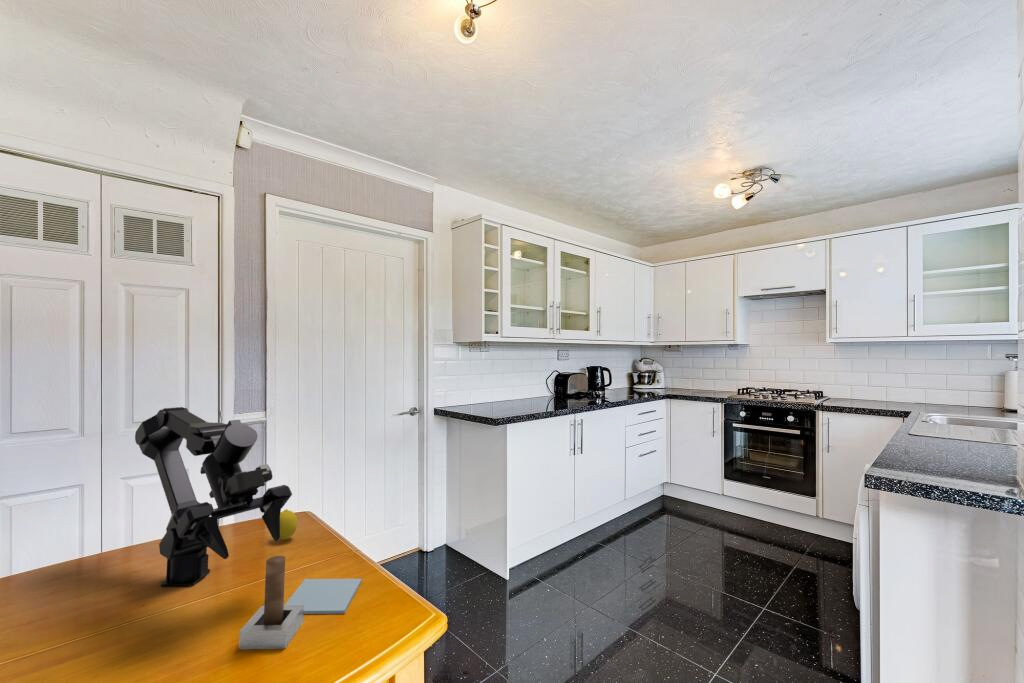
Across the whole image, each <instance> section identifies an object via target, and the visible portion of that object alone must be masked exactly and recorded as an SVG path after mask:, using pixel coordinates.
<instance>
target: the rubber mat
mask: <svg viewBox="0 0 1024 683" xmlns="http://www.w3.org/2000/svg"><path fill="white" fill-rule="evenodd" d="M362 582H363V579H362V578H305V579H304V580H303V581H302V582H301V584H299V586H298V587H297V589H296V590H295V591H294V592H293V594H292V595H291V596H290V598H289V599H288V600H287V601H286V603H284V605H304V615H328V614H329V615H333V614H335V615H336V614H341V615H343V614H345V613H346V611H347V610H348V609H349V606H350V604H351V602H352V601H353V599H354V597H355V595H356V593H357V591H358V590H359V587H360V586H361V584H362Z"/></svg>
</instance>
